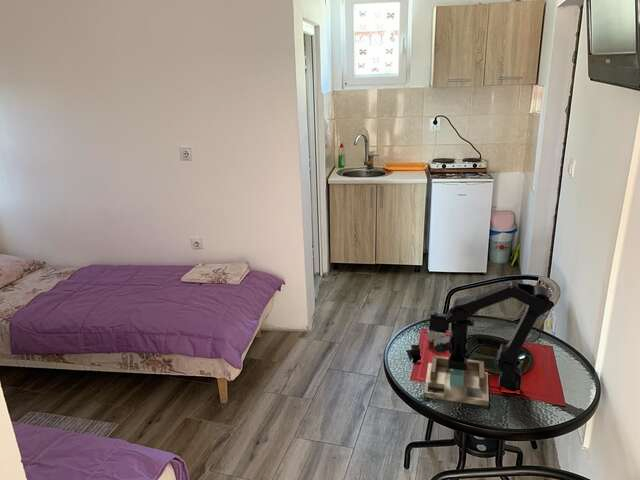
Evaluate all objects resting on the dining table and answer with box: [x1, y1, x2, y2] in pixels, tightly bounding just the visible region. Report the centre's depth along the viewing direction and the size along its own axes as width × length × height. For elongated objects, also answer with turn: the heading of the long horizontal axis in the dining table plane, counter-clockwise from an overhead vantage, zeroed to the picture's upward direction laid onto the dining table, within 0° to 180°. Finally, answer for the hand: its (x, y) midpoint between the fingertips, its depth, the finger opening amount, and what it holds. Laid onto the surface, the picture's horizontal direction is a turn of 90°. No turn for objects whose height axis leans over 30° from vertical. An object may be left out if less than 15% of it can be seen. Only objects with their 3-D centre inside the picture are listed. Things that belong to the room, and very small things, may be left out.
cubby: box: [430, 355, 485, 387], centre depth 179 cm, size 18×10×4 cm, turn 74°
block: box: [450, 369, 464, 387], centre depth 174 cm, size 4×4×4 cm
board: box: [423, 362, 490, 407], centre depth 176 cm, size 21×18×2 cm
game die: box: [424, 328, 449, 343], centre depth 202 cm, size 9×8×10 cm
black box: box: [406, 344, 421, 364], centre depth 194 cm, size 12×7×5 cm, turn 1°
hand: (457, 372), depth 179 cm, fingers closed
